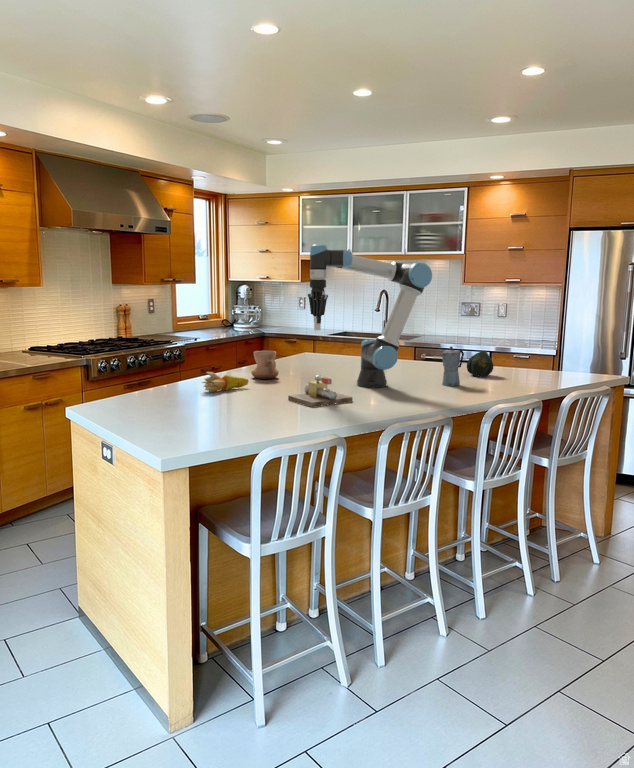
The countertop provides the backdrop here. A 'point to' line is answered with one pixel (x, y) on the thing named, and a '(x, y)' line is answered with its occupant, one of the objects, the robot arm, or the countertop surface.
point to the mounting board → (318, 399)
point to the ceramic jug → (265, 365)
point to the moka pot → (451, 366)
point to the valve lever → (323, 379)
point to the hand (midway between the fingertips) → (317, 330)
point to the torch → (223, 382)
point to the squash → (480, 364)
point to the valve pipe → (319, 390)
